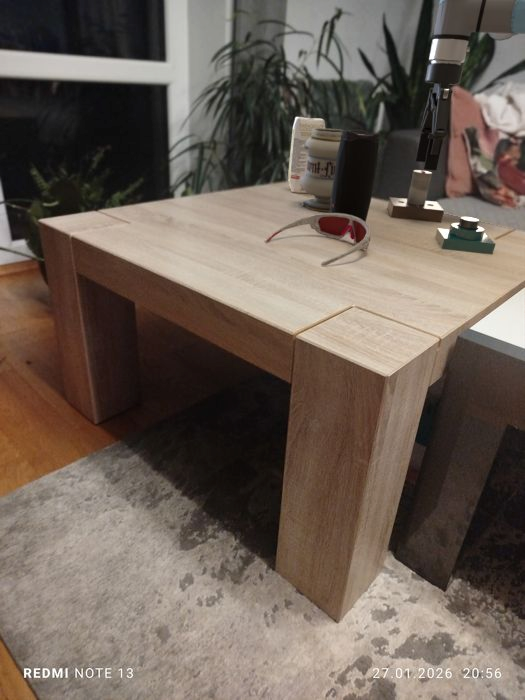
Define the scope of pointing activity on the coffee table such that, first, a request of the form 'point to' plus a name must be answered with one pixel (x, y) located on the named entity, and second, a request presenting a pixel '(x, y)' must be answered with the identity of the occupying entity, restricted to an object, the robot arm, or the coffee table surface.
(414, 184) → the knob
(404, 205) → the brown block with holes
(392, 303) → the coffee table surface
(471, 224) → the grey short cylinder
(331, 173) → the apothecary jar
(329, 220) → the sunglasses
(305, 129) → the white carton
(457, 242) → the green stepped pedestal
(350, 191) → the portable speaker
